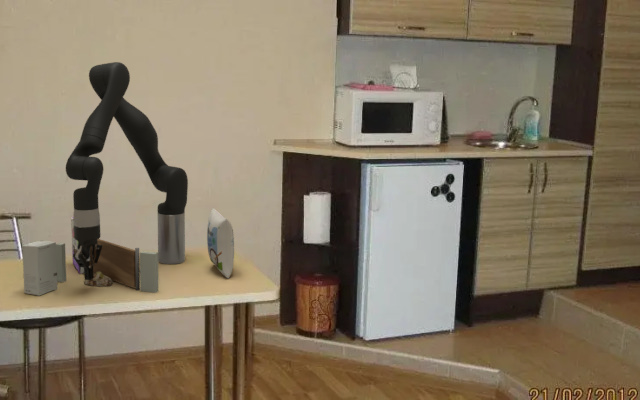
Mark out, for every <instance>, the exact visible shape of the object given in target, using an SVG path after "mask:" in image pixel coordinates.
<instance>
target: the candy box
mask: <svg viewBox="0 0 640 400" xmlns="http://www.w3.org/2000/svg"><path fill="white" fill-rule="evenodd" d="M70 222H71V223H70V225H71V254H72V255H71V257H72V265H73V266H74V267H75V269H76V271H77V272H78V273H79V274H84V268H83V267H79V265H78V264H77V262H76V261H75V259H74V257H73V254H74V253H75V254H76V253H77V251H78V248H77V247H78V241H77V240H75V238H74V221H73V216H71V217H70Z"/></svg>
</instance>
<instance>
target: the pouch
mask: <svg viewBox="0 0 640 400" xmlns="http://www.w3.org/2000/svg"><path fill="white" fill-rule="evenodd" d="M206 231H207V232H206V235H207V236H206V238H207V239H206V240H207V252H208V256H209V259H210V261H211V263H212V264H213V265H214V266H215V267H216V269H217V270H219V272H220V273H221V274H222V275H223V276H224V277H225V278H226V279H230V276H231V275H232V272H233V268H234V262H235V237H234V236H235V235H234V229H233V226H232V223H231V222H230V220H229V219H227V218H225V216H223V215H222V214H221V213H220V212H219V211H218V210H216V209H215V208H214V207H212V209H211V211H210V213H209V217H208V221H207V230H206Z"/></svg>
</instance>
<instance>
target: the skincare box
mask: <svg viewBox="0 0 640 400" xmlns="http://www.w3.org/2000/svg"><path fill="white" fill-rule="evenodd" d="M56 244H57V242H56V241H49V240H38V241H33V242H30V243H26V244H23V245H21V246H22V266H23V267H22V268H23V292H24V294H29V295H33V296H42V295H44V294H48V293H49V292H51V291H56V290H57V289H58V282H57V263H56Z"/></svg>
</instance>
